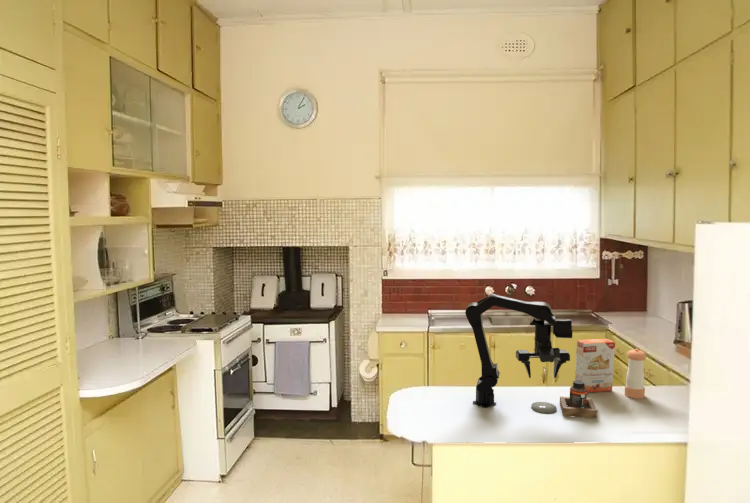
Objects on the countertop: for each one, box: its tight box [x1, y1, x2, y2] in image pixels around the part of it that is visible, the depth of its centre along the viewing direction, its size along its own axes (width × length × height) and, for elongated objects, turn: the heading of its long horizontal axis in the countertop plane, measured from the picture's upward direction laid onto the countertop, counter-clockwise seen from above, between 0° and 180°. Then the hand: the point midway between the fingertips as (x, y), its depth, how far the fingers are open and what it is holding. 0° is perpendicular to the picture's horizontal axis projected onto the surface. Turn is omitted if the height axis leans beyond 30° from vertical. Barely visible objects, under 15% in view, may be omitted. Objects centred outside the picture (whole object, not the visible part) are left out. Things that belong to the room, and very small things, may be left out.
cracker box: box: [574, 338, 616, 393], centre depth 229 cm, size 14×6×21 cm, turn 100°
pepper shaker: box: [624, 348, 647, 400], centre depth 223 cm, size 7×7×19 cm
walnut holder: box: [559, 396, 598, 419], centre depth 209 cm, size 12×12×3 cm
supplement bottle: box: [568, 379, 588, 408], centre depth 208 cm, size 6×6×11 cm
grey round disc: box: [530, 401, 557, 414], centre depth 211 cm, size 9×9×1 cm
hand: (542, 377), depth 209 cm, fingers open, 9 cm apart
